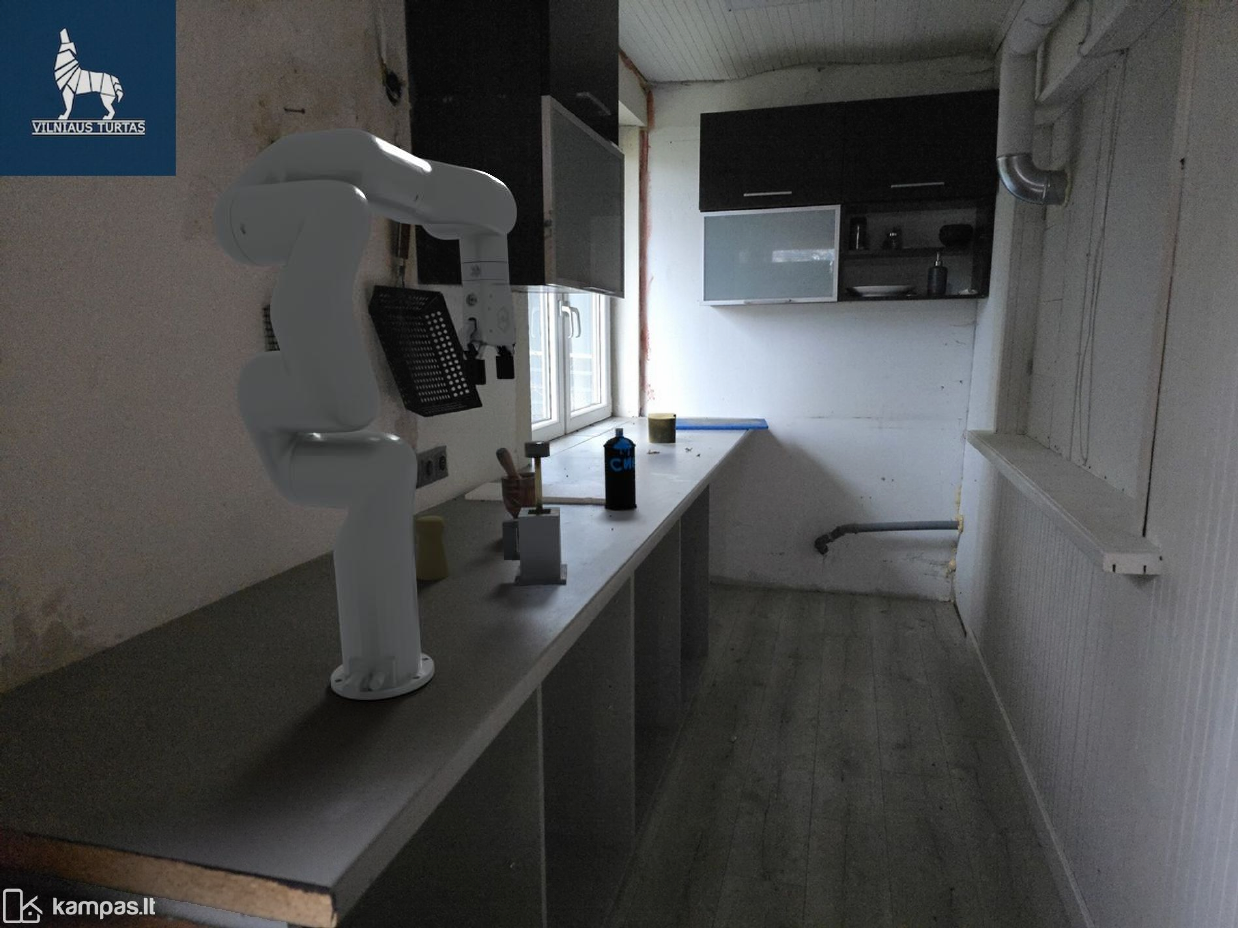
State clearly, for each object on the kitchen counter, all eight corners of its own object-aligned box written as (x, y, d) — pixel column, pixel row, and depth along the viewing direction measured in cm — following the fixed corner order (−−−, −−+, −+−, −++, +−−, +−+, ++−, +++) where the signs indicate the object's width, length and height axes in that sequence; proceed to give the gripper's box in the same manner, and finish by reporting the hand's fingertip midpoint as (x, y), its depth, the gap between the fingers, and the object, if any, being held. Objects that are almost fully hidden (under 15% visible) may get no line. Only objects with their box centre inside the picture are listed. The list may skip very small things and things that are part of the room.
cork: (441, 581, 136) (437, 521, 134) (410, 579, 137) (406, 520, 135) (455, 570, 142) (452, 513, 140) (425, 569, 143) (421, 512, 141)
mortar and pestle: (534, 542, 160) (531, 448, 157) (494, 541, 161) (490, 448, 158) (546, 528, 172) (543, 441, 168) (509, 528, 173) (505, 441, 169)
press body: (566, 583, 133) (564, 516, 131) (502, 585, 132) (499, 518, 130) (567, 568, 142) (565, 505, 140) (507, 570, 141) (504, 507, 139)
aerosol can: (599, 505, 194) (597, 427, 191) (628, 502, 197) (627, 425, 194) (612, 511, 187) (610, 431, 183) (642, 508, 190) (641, 428, 187)
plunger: (551, 526, 133) (549, 444, 131) (526, 527, 133) (523, 444, 131) (552, 520, 138) (550, 440, 135) (528, 521, 138) (525, 441, 135)
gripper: (478, 272, 113) (485, 387, 116) (530, 276, 129) (535, 377, 132) (435, 274, 115) (443, 387, 119) (491, 278, 131) (496, 377, 135)
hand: (491, 381), depth 125 cm, fingers open, 9 cm apart
